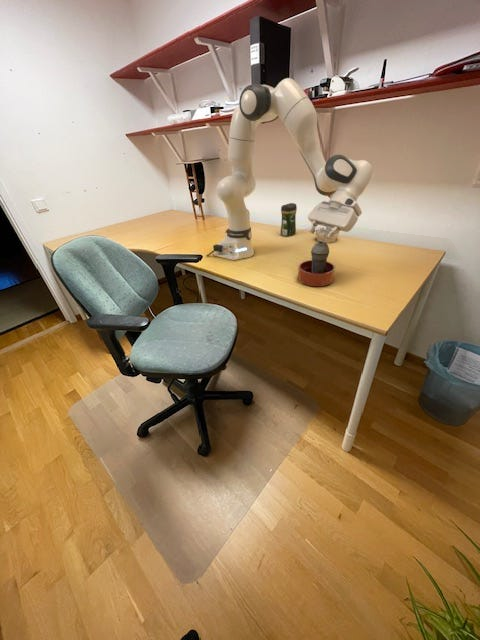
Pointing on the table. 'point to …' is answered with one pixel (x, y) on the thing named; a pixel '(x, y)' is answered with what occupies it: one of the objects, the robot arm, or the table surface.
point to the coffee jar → (288, 219)
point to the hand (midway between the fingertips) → (318, 235)
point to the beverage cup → (319, 256)
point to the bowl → (312, 278)
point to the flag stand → (321, 233)
